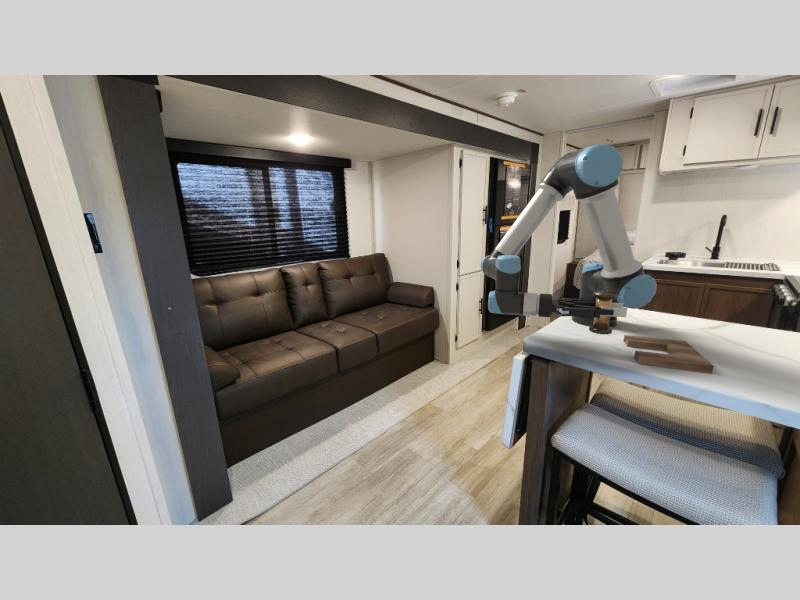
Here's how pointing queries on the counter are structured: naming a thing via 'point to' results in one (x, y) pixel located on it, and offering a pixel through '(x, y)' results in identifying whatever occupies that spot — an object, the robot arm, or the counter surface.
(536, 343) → the counter surface
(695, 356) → the notched board
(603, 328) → the bobbin
